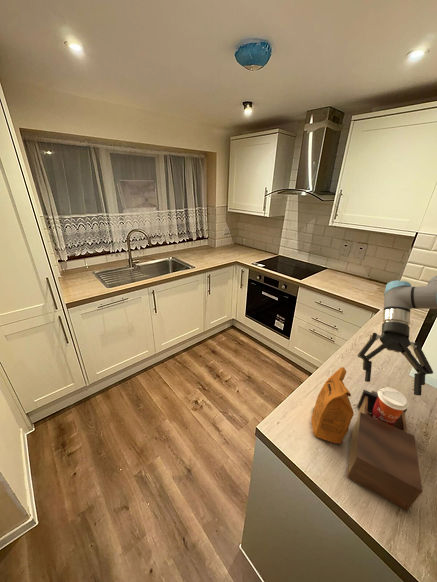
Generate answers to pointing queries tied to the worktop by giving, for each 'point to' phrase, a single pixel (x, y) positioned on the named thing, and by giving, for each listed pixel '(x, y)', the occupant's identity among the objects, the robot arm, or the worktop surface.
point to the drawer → (368, 403)
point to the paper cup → (389, 405)
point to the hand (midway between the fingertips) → (391, 388)
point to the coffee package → (332, 409)
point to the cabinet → (385, 461)
